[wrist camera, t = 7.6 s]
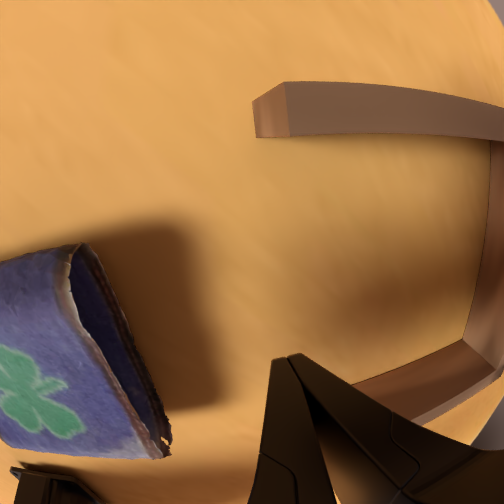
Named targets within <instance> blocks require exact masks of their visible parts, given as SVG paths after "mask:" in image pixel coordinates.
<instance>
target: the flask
mask: <svg viewBox="0 0 504 504" xmlns="http://www.w3.org/2000/svg"><path fill="white" fill-rule="evenodd" d="M163 407H164V406H163V402H162V400H161V398H160V396H159V395H158V394H157V393H156V389H155V388H154V384H153V382H152V379H151V376H150V375H149V373H148V370H147V369H146V366H145V363H144V362H143V358H142V356H141V355H140V353H139V352H138V350H136V347H135V346H134V339H133V335H132V333H131V332H130V328H129V323H128V321H127V319H126V317H125V313H124V312H123V311H122V310H121V307H120V306H119V302H118V299H117V297H116V296H115V293H114V291H113V289H112V286H111V285H110V282H109V279H108V277H107V274H106V272H105V270H104V268H103V266H102V264H101V262H100V260H99V258H98V255H97V254H96V253H95V252H94V251H93V250H92V249H91V247H90V245H89V243H82V242H81V243H80V244H74V245H64V246H62V247H57V248H52V249H46V250H40V251H37V252H34V253H27V254H24V255H22V256H18V257H15V258H13V259H10V260H7V261H2V262H0V438H1V440H2V441H4V442H5V443H6V444H7V445H9V446H11V447H12V448H19V449H28V450H33V451H37V452H49V453H56V454H66V455H71V456H89V457H103V458H119V459H138V458H149V459H152V460H154V459H161V458H165V457H166V456H171V455H172V454H171V453H170V450H169V449H170V447H169V445H171V444H172V441H173V439H172V433H171V425H170V423H169V422H168V420H169V419H168V418H167V416H165V412H164V408H163ZM161 437H163V438H165V440H168V443H169V445H166V444H165V443H164V441H162V440H161Z"/></svg>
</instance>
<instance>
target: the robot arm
mask: <svg viewBox="0 0 504 504" xmlns="http://www.w3.org/2000/svg"><path fill="white" fill-rule="evenodd" d="M259 453H260V454H259V456H258V462H257V468H256V473H255V478H254V483H253V487H252V490H251V493H250V497H249V500H248V503H247V504H337V502H336V498H335V495H334V491H335V493H336V495H337V497H338V499H339V501H340V503H341V504H504V449H503V450H483V449H478V448H475V447H472V446H469V445H466V444H464V443H461V442H458V441H456V440H453V439H450V438H448V437H445V436H443V435H440V434H438V433H435V432H433V431H431V430H429V429H426V428H424V427H422V426H420V425H418V424H416V423H414V422H412V421H410V420H408V419H407V418H405V417H403V416H401V415H400V414H398V413H396V412H394V411H393V412H392V410H391V409H389V408H387V407H386V406H384V405H382V404H381V403H379V402H377V401H376V400H374V399H373V398H371V397H369V396H368V395H366V394H364V393H363V392H361V391H360V390H358V389H356V388H355V387H353V386H351V385H350V384H348V383H347V382H345V381H344V380H342V379H340V378H339V377H337V376H336V375H334V374H333V373H331V372H329V371H328V370H326V369H325V368H323V367H322V366H320V365H319V364H317V363H316V362H314V361H313V360H311V359H310V358H308V357H306V356H305V355H303V354H302V353H297V354H293V355H289V356H287V358H286V357H280V358H276V359H273V360H272V361H271V368H270V376H269V384H268V392H267V400H266V407H265V415H264V422H263V429H262V436H261V443H260V450H259ZM10 472H11V473H12V474H13V475H14V476H15V477H16V478H17V479H18V480H19V484H18V488H17V492H16V496H15V500H14V504H106V503H104V502H103V501H102V500H101V499H100V498H98V497H97V496H96V495H95V494H94V493H93V492H91V491H90V490H89V489H88V488H87V487H86V486H85V485H84V484H83V483H81V482H80V481H79V480H78V479H77V478H75V477H72V476H65V475H57V474H50V473H43V472H37V471H32V470H26V469H22V468H17V467H11V468H10ZM332 487H333V488H332ZM333 489H334V491H333Z"/></svg>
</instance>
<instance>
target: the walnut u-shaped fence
mask: <svg viewBox="0 0 504 504" xmlns="http://www.w3.org/2000/svg"><path fill="white" fill-rule="evenodd" d="M252 105H253V113H254V122H255V131H256V138H262V137H285V136H302V135H319V134H344V133H405V134H430V135H446V136H459V137H469V138H479V139H488V140H491V172H490V194H489V207H488V217H487V226H486V234H485V242H484V248H483V255H482V260H481V266H480V271H479V276H478V281H477V286H476V290H475V295H474V299H473V303H472V307H471V311H470V314H469V318H468V322H467V325H466V329H465V332H464V335H463V339H462V340H460V341H458V342H456V343H454V344H452V345H450V346H448V347H446V348H444V349H441V350H439V351H437V352H435V353H433V354H431V355H428V356H426V357H424V358H422V359H419V360H417V361H415V362H412V363H410V364H408V365H405V366H403V367H400V368H398V369H395V370H393V371H390V372H388V373H385V374H382V375H380V376H377V377H374V378H371V379H369V380H366V381H363V382H360V383H357V384H354V385H351V386H353V387H355V388H356V389H358V390H360V391H361V392H363V393H364V394H366V395H368V396H369V397H371V398H373V399H374V400H376V401H377V402H379V403H381V404H382V405H384V406H386V407H387V408H389V409H391V410H392V412H393V411H394V412H396V413H398V414H400V415H401V416H403V417H405V418H407V419H408V420H410V421H412V422H414V423H416V424H418V425H420V426H422V425H424V424H426V423H428V422H429V421H431V420H433V419H435V418H437V417H439V416H440V415H442V414H444V413H446V412H447V411H449V410H451V409H452V408H454V407H456V406H457V405H459V404H461V403H462V402H464V401H466V400H467V399H469V398H470V397H472V396H473V395H475V394H476V393H478V392H479V391H481V390H482V389H484V388H485V387H487V386H488V385H490V384H491V383H492V382H494V381H495V380H496V379H498V378H499V377H501V375H502V372H503V370H504V108H501V107H498V106H494V105H491V104H487V103H483V102H479V101H475V100H471V99H466V98H462V97H457V96H452V95H447V94H442V93H437V92H431V91H425V90H418V89H411V88H404V87H396V86H387V85H376V84H364V83H348V82H316V81H299V82H283V83H281V84H279V85H278V86H276V87H274V88H273V89H271V90H270V91H268V92H266V93H265V94H263V95H262V96H260V97H259V98H257V99H255V100H254V101H252Z"/></svg>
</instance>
